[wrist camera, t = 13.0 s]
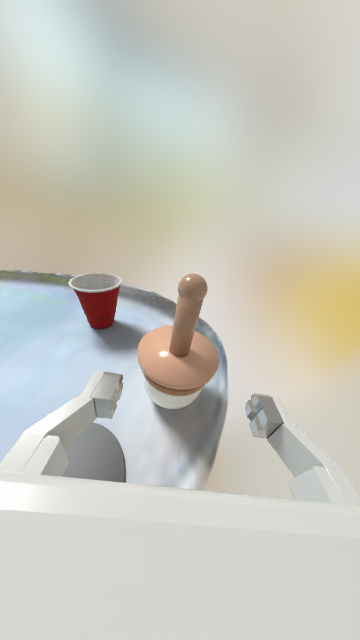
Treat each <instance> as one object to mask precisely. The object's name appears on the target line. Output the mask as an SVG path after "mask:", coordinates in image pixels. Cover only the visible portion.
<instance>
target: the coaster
mask: <svg viewBox="0 0 360 640" xmlns="http://www.w3.org/2000/svg"><path fill="white" fill-rule="evenodd" d="M64 450H65V452H66V454H67V456H68V458H69V463H68V465H67V467H66V469H65V471H64V473H63V476H62V477H70V478H80V479H91V480H101V481H111V482H121V483H124V479H125V465H124V457H123V453H122V449H121V447H120V444H119V442H118V440H117V438H116V437H115V436H114V435H113V433H112V432H110V431H109V430H108V429H107V428H105V427H104V426H102V425H99V424H96V423H91V424H90V425H89V426H88V427H87V428H86V429H85V430H84V431H83V432H82V433H81V434H79V435H78V436H77V437H76V438H75V439H74V440H73V441H72V442H71V443H70V444H69V445H68V446H67V447H66V448H65V449H64Z"/></svg>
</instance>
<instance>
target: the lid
mask: <svg viewBox="0 0 360 640" xmlns="http://www.w3.org/2000/svg"><path fill="white" fill-rule="evenodd" d="M178 292H179V296H178V301H177V307H176V312H175V318H174V324H173V326H164V327H160V328H156V329H154V330H152V331H150V332H148V333H147V334H146V335H145V336H144V337H143V338H142V339H141V341H140V343H139V346H138V361H139V364H140V367H141V369H142V370H143V372H144V373H145V374H146V375H147V376H148V377H149V378H150V379H151V380H153V381H154V382H156V383H158V384H160V385H162V386H165V387H167V388H171V389H177V390H189V389H194V388H198V387H200V386H203V385H204V384H206V383H208V382H209V381H210V380H211V379H212V378H213V376H214V375H215V373H216V370H217V368H218V364H219V357H218V353H217V350H216V348H215V347H214V345H213V344H212V343H211V342H210V341H209V340H208V339H207V338H206V337H205V336H203V335H202V334H200V333H199V332H196V331H195V328H196V325H197V321H198V317H199V313H200V310H201V306H202V302H203V299H204V297H205V295H206V293H207V283H206V281H205V280H204V278H203V277H201V276H200V275H197V274H188V275H186V276H185V277H183V278H182V279H181V281H180V282H179V285H178Z"/></svg>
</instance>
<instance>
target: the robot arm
mask: <svg viewBox="0 0 360 640" xmlns="http://www.w3.org/2000/svg"><path fill="white" fill-rule="evenodd" d="M122 379H123V375H121V374H115V373H109V372H103V371H97V370H96V371H95V372H94V374H93V375H92V377H91V379H90V380H89V382H88V384H87V385H86V387H85V388H84V390H83V392H82V393H81V395H80V396H76V397H75V398H73V399H72V400H70V401H69V402H67V403H66V404H64V405H63V406H61V407H60V408H58V409H57V410H55V411H54V412H53V413H51V414H50V415H48V416H47V417H45V418H44V419H42V420H41V421H39V422H38V423H36V424H35V425H33V426H32V427H30V428H29V429H27V430H26V431H24V433H23V434H22V435H21V437H20V438H19V439H18V441H17V442H16V443H15V444H14V446H13V447H12V448H11V450H10V451H9V452H8V454H7V455H6V456H5V457H4V459H3V460H2V461H1V463H0V640H360V497H359V495H358V493H357V492H356V490H355V489H354V487H353V486H352V484H351V482H350V481H349V479H348V478H347V476H346V474H345V473H344V471H343V470H342V468H341V467H340V466H339V465H338V464H337V463H335V462H334V461H333V460H332V459H331V458H330V457H329V456H328V455H327V454H326V453H325V452H324V451H323V450H322V449H321V448H320V447H319V446H317V445H316V444H315V443H314V442H313V441H312V440H311V439H310V438H309V437H308V436H307V435H306V434H305V433H304V432H303V431H302V430H301V429H299V428H298V427H297V426H296V425H294V424H293V422H292V421H291V419H290V417H289V415H288V413H287V411H286V409H285V407H284V405H283V404H282V402H281V400H280V399H279V398H278V397H274V396H268V395H260V394H253V395H252V396H251V400H249V401H248V402H247V403H246V414H247V417H248V418H249V419H250V420H251V422H250V427H251V430H252V433H253V436H254V437H260V438H266V439H267V440H268V441H269V443H270V444H271V445H272V447H273V448H274V450H275V451H276V452H277V454H278V455H279V456H280V458H281V459H282V460H283V462H284V463H285V464H286V466H287V467H288V468H289V470H290V471H291V473H292V474H293V475H294V477H295V478H294V479H292V480H291V481H289V483H288V485H289V487H290V490H291V493H292V495H293V498H294V499H284V498H274V497H264V496H254V495H253V496H252V495H244V494H233V493H223V492H213V491H203V490H193V489H182V488H172V487H162V486H152V485H142V484H131V483H121V482H111V481H101V480H91V479H80V478H70V477H62V476H63V473H64V471H65V469H66V467H67V465H68V463H69V458H68V456H67V454H66V452H65V450H64V449H65V448H66V447H67V446H68V445H69V444H70V443H71V442H72V441H73V440H74V439H75V438H76V437H77V436H78V435H79V434H81V433H82V432H83V431H84V430H85V429H86V428H87V427H88V426H89V425H90V424H91V423H92V422H93V421H94V420H95V419H96V417H100V418H110V419H112V418H113V415H114V412H115V410H116V407H117V405H116V402H117V401H118V400H119V399H120V396H121V393H122V388H123V383H122Z"/></svg>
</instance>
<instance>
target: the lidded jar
mask: <svg viewBox="0 0 360 640" xmlns="http://www.w3.org/2000/svg"><path fill="white" fill-rule="evenodd" d="M142 379H143V385H144V388H145V391H146V393H147V394H148V396H149V397H150V399H151V400H152V401H153V402H154V403H156V404H157V405H159V406H161V407H163V408H167V409H179V408H183V407H185V406H187V405H189V404H190V403H192V402H193V401H194V400H195V399H196V398H197V397H198V395H199V394H200V392H201V391H202V389H203V387H204V385H205V384H204V385H203V386H200V387H198V388H194V389H189V390H177V389H171V388H167V387H165V386H162V385H160V384H158V383H156V382H154V381H153V380H151V379H150V378H149V377H148V376H147V375H146V374H145V373H144V372H143V370H142Z"/></svg>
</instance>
